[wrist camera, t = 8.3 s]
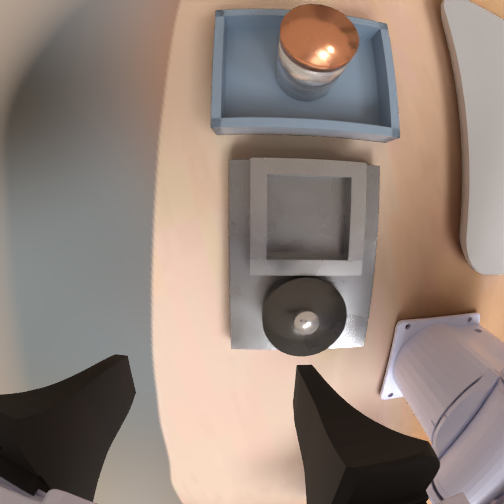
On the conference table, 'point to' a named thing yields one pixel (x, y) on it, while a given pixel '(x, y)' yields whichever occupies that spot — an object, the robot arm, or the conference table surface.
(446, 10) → the tablet
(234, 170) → the base
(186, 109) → the conference table surface
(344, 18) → the copper lid glass jar
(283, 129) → the parts tray
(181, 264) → the conference table surface
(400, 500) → the robot arm
